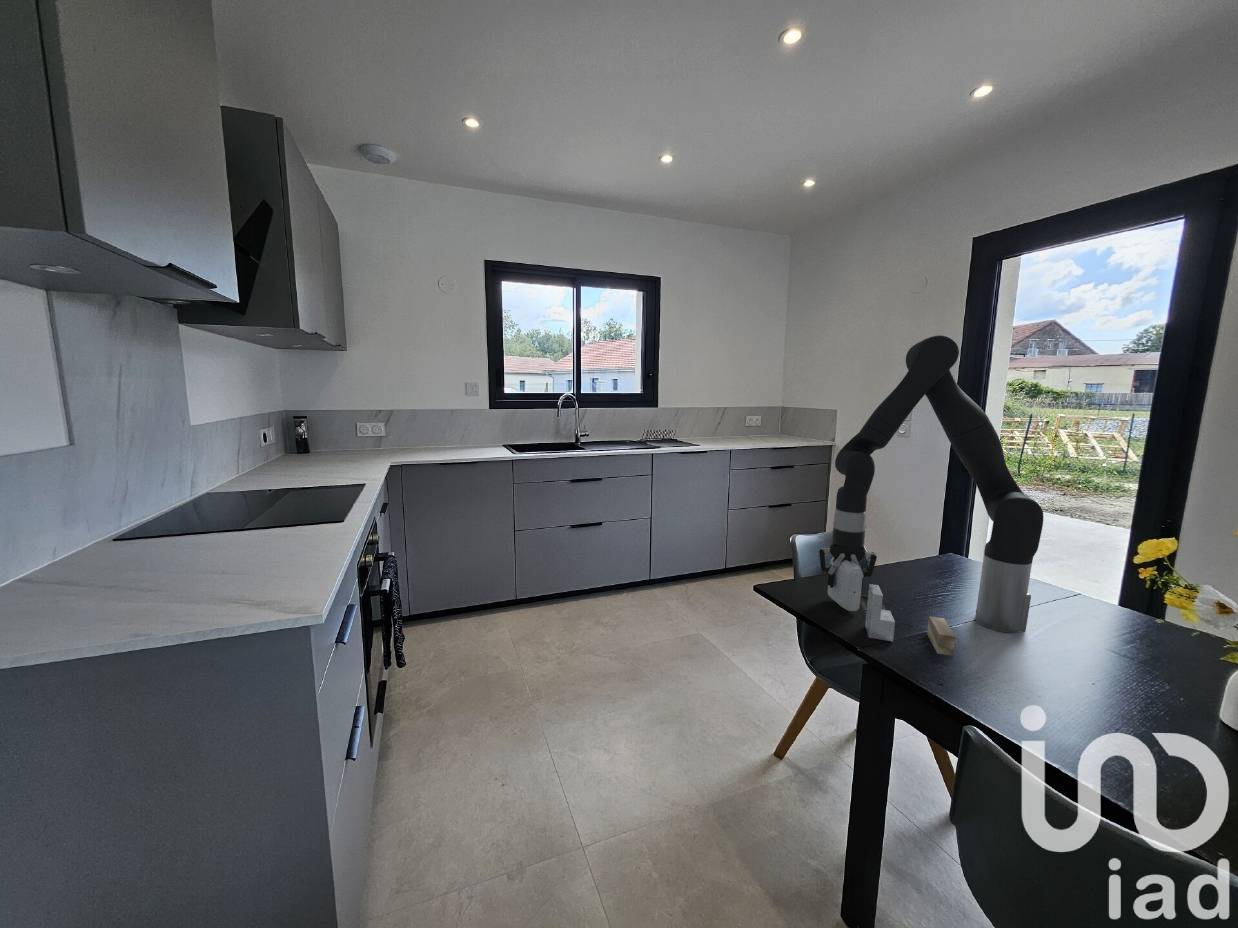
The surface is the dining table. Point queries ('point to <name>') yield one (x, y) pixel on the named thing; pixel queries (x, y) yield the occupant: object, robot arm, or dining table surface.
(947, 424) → the robot arm
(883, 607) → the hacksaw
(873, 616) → the clamp jaw
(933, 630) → the block
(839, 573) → the rounded stone tablet
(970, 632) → the dining table surface
